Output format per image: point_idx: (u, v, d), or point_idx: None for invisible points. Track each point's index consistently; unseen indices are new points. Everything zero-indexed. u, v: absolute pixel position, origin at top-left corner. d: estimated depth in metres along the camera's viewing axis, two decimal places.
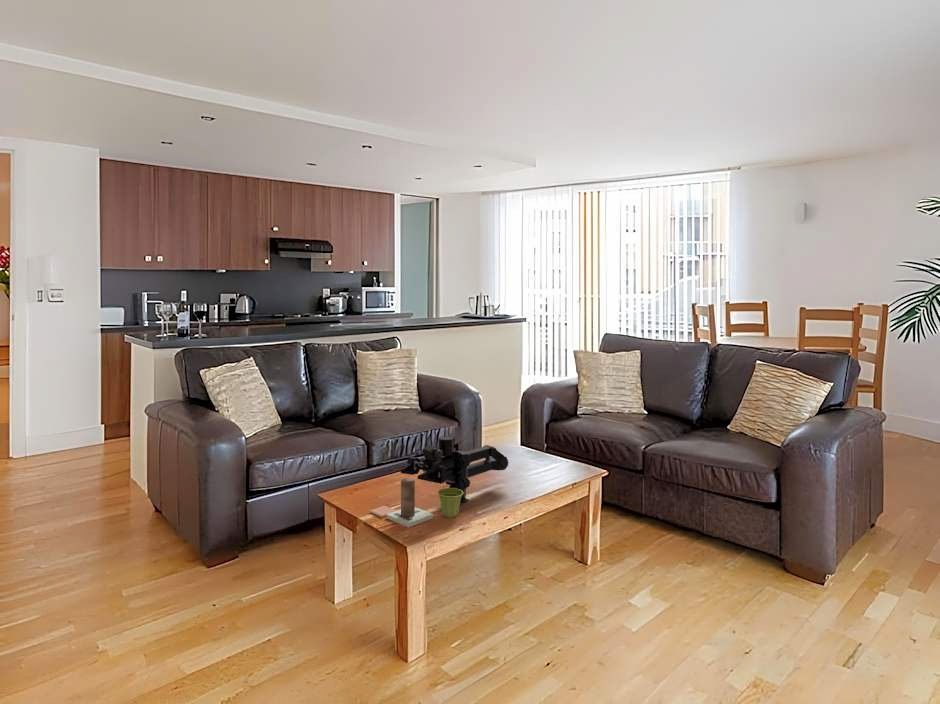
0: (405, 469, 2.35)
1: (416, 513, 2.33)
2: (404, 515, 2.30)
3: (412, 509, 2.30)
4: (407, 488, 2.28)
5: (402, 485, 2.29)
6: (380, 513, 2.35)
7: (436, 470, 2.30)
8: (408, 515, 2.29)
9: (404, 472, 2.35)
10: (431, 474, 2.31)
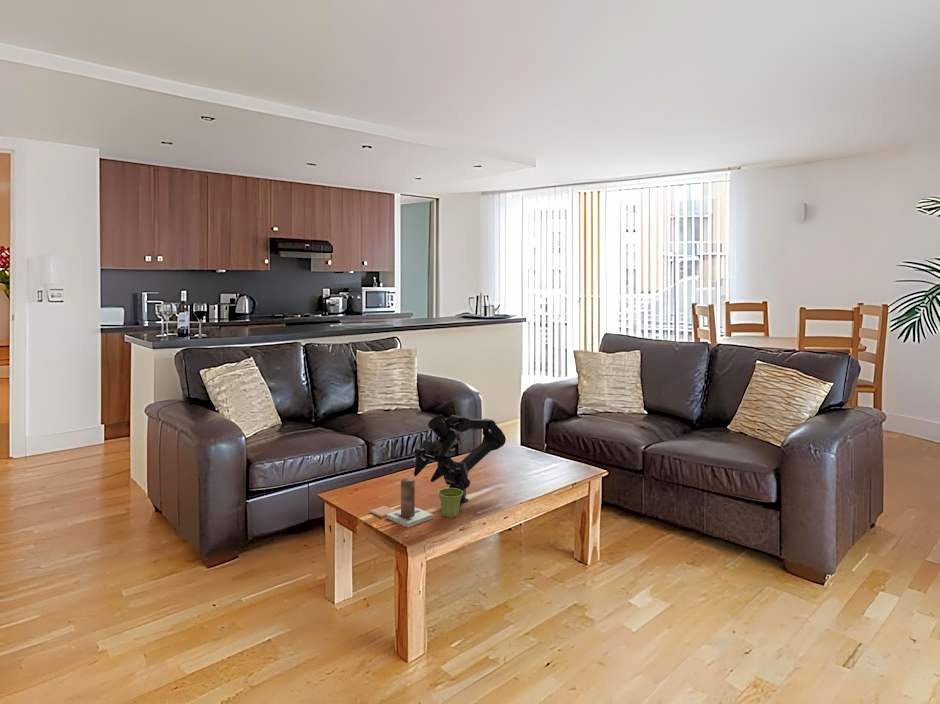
0: (417, 470, 2.39)
1: (416, 513, 2.33)
2: (404, 515, 2.30)
3: (412, 509, 2.30)
4: (407, 488, 2.28)
5: (402, 485, 2.29)
6: (380, 513, 2.35)
7: (443, 465, 2.32)
8: (408, 515, 2.29)
9: (417, 473, 2.40)
10: (441, 469, 2.34)
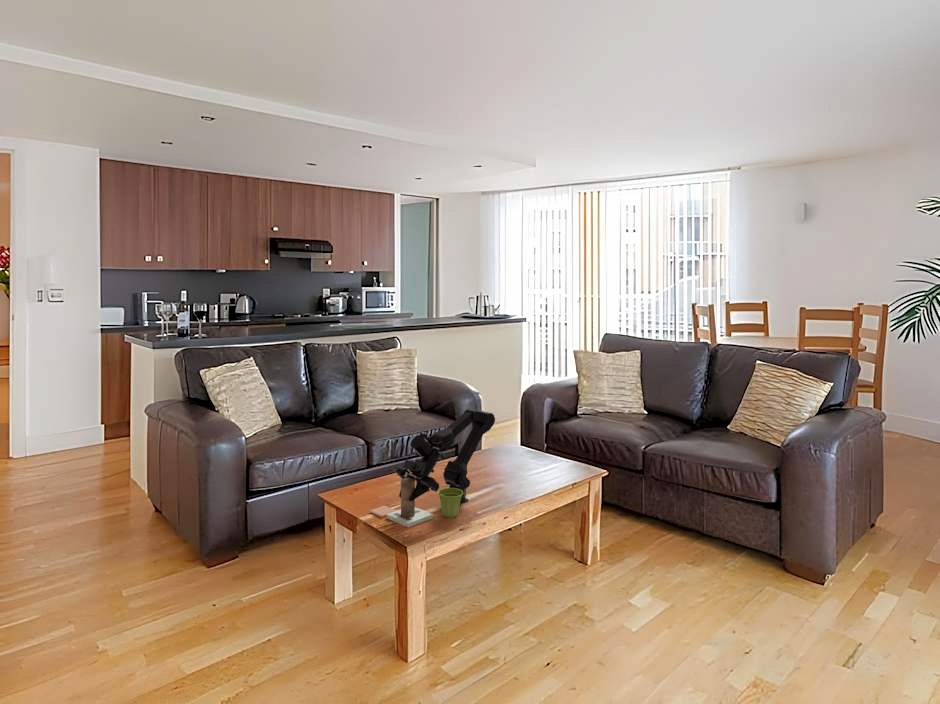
0: None
1: (416, 513, 2.33)
2: (404, 515, 2.30)
3: (412, 509, 2.30)
4: (407, 488, 2.28)
5: (402, 485, 2.29)
6: (380, 513, 2.35)
7: (422, 484, 2.28)
8: (408, 515, 2.29)
9: None
10: (420, 488, 2.30)
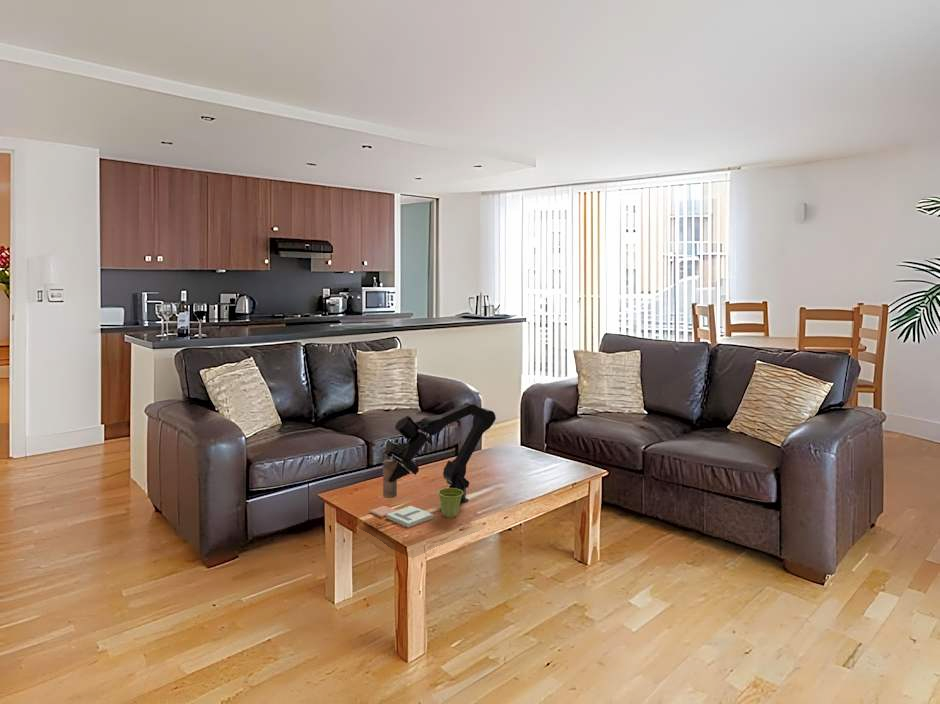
0: None
1: (416, 513, 2.33)
2: (384, 495, 2.32)
3: (393, 490, 2.32)
4: (387, 469, 2.31)
5: (383, 466, 2.32)
6: (380, 513, 2.35)
7: (401, 466, 2.29)
8: (388, 496, 2.32)
9: None
10: (400, 470, 2.31)
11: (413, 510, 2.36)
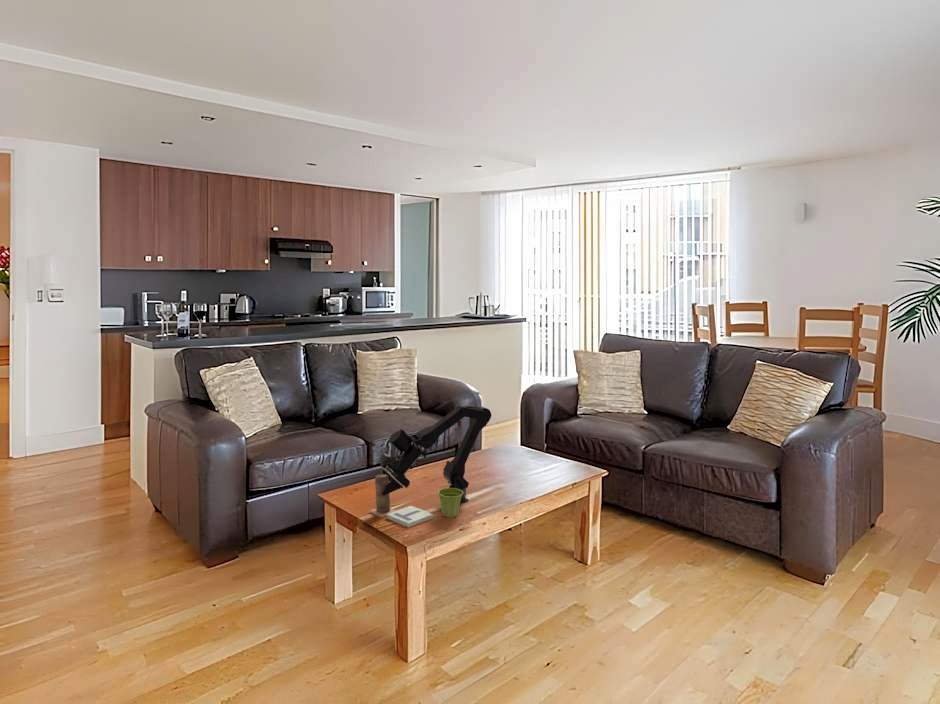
0: None
1: (416, 513, 2.33)
2: (377, 510, 2.36)
3: (385, 505, 2.35)
4: (379, 485, 2.34)
5: (375, 481, 2.35)
6: (380, 513, 2.35)
7: (393, 480, 2.31)
8: (381, 510, 2.35)
9: None
10: (394, 483, 2.33)
11: (413, 510, 2.36)
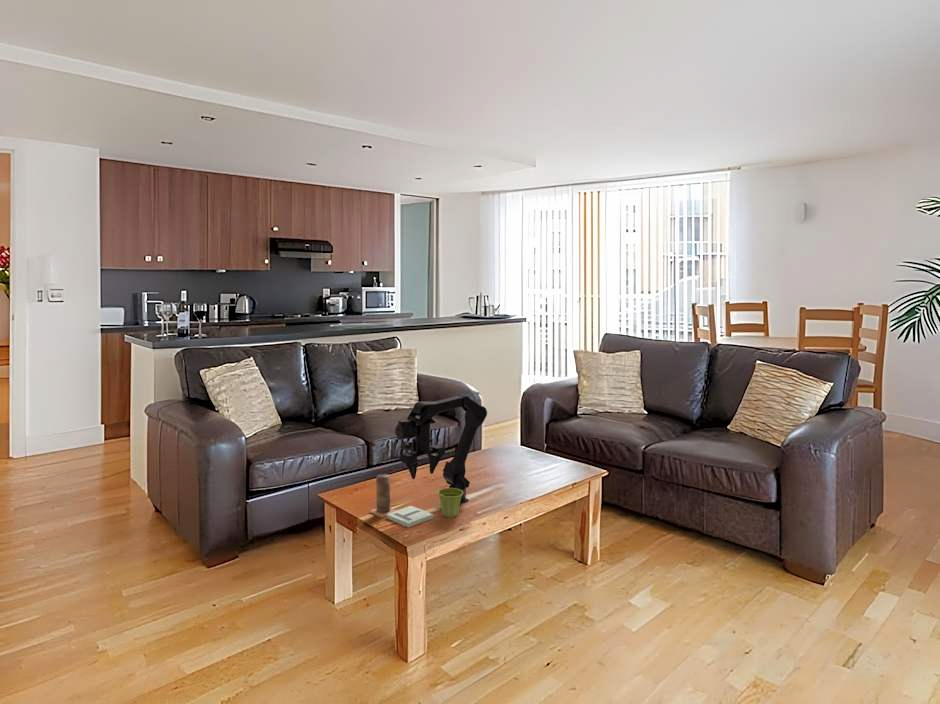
0: (430, 467, 2.43)
1: (416, 513, 2.33)
2: (377, 510, 2.36)
3: (385, 505, 2.35)
4: (380, 484, 2.34)
5: (376, 480, 2.35)
6: (380, 513, 2.35)
7: None
8: (381, 510, 2.35)
9: (432, 469, 2.42)
10: (410, 465, 2.35)
11: (413, 510, 2.36)
